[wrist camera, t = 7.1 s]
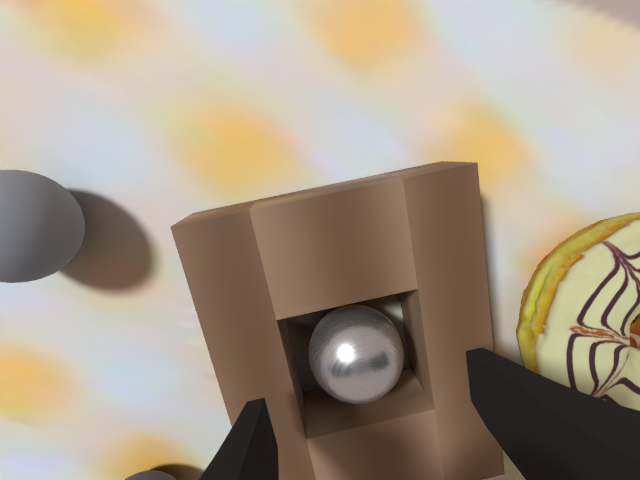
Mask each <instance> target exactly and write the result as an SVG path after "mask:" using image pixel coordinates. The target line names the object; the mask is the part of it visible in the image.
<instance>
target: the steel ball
mask: <svg viewBox="0 0 640 480" xmlns="http://www.w3.org/2000/svg"><path fill="white" fill-rule="evenodd" d="M309 362H310V366H311V370H312V373H313V375H314V377H315V379H316V380H317V382H318V383H319V385H320V386H321V387H322V388H323V389H324V390H325V391H326V392H327V393H328V394H329V395H331V396H332V397H334V398H336V399H338V400H340V401H342V402H346V403H350V404H365V403H370V402H373V401H375V400H378V399H380V398H381V397H383V396H384V395H386V394H387V393H388V392H389V391H390V390H391V389H392V388H393V387H394V385H395V384H396V382H397V381H398V379H399V377H400V375H401V372H402V368H403V363H404V348H403V344H402V340H401V337H400V335H399V333H398V331H397V329H396V327H395V326H394V324H393V323H392V322H391V321H390V320H389V319H388V318H387V317H386V316H385V315H384V314H382V313H381V312H379V311H378V310H376V309H374V308H371V307H368V306H364V305H346V306H342V307H339V308H337V309H334V310H333V311H331V312H329V313H328V314H327V315H325V316H324V317H323V318H322V319H321V320H320V322H319V323H318V324H317V326H316V328H315V329H314V331H313V333H312V336H311V340H310V344H309Z"/></svg>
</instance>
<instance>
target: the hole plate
mask: <svg viewBox="0 0 640 480" xmlns="http://www.w3.org/2000/svg"><path fill="white" fill-rule="evenodd" d="M171 230H172V234H173V237H174V240H175V243H176V247H177V250H178V253H179V256H180V260H181V263H182V266H183V269H184V273H185V276H186V279H187V282H188V286H189V289H190V292H191V295H192V299H193V302H194V305H195V308H196V312H197V315H198V318H199V321H200V325H201V328H202V331H203V334H204V338H205V341H206V344H207V347H208V351H209V354H210V357H211V360H212V364H213V367H214V370H215V373H216V377H217V380H218V383H219V386H220V390H221V393H222V396H223V399H224V403H225V406H226V409H227V412H228V416H229V419H230V422H231V425H232V427H233V425H234V423H235V422H236V420H237V418H238V416H239V414H240V413H241V411H242V409H243V407H244V405H245V404H246V403H247V401H252V400H256V399H260V398H265V401H266V405H267V409H268V412H269V416H270V419H271V423H272V427H273V430H274V434H275V438H276V441H277V445H278V465H279V480H482V479H486V478H490V477H494V476H498V475H502V474H504V464H503V452H502V447H501V446H500V445H499V443H498V442H497V441H496V439H495V438H494V437H493V435H492V434H491V433H490V431H489V430H488V429H487V427H486V426H485V424H484V422H483V421H482V419H481V417H480V416H479V414H478V412H477V410H476V409H475V407H474V405H473V403H472V402H471V398H470V388H469V379H468V370H467V361H466V352H465V351H469V350H473V349H477V348H485V349H487V350H489V351H491V352H494V349H493V338H492V326H491V315H490V303H489V292H488V280H487V269H486V257H485V246H484V234H483V223H482V211H481V200H480V188H479V177H478V165H477V163H472V162H444V161H442V162H437V163H432V164H427V165H422V166H418V167H413V168H408V169H403V170H398V171H394V172H389V173H384V174H379V175H374V176H370V177H365V178H360V179H355V180H350V181H346V182H341V183H336V184H331V185H326V186H322V187H317V188H312V189H307V190H302V191H298V192H293V193H288V194H283V195H278V196H274V197H269V198H264V199H259V200H254V201H250V202H245V203H240V204H235V205H230V206H226V207H221V208H216V209H211V210H206V211H202V212H197V213H193V214H191V215H189V216H188V217H186V218H184V219H183V220H181V221H179V222H178V223H176V224H174V225H173V226H171ZM397 293H399V295H400V301H401V308H402V314H403V321H404V327H405V334H406V341H407V347H408V354H409V360H410V367H411V368H408V369H404V370H402V372H401V375H400V377H399V379H398V381H397V382H396V384H395V385H394V387H393V388H392V389H391V390H390V391H389V392H388V393H387V394H386V395H384V396H383V397H381V398H380V399H378V400H375V401H373V402H370V403H365V404H350V403H346V402H342V401H340V400H338V399H336V398H334V397H332V396H331V395H329V394H328V393H327V392H326V391H325V390H324V389H323V388H322V389H317V390H313V391H309V392H304V393H303V390H302V386H301V382H300V378H299V373H298V369H297V365H296V361H295V357H294V353H293V349H292V345H291V340H290V336H289V332H288V328H287V324H286V320H285V318H289V317H293V316H298V315H302V314H307V313H311V312H316V311H320V310H325V309H329V308H334V307H338V306H343V305H347V304H352V303H356V302H361V301H365V300H370V299H374V298H379V297H383V296H388V295H392V294H397Z"/></svg>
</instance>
